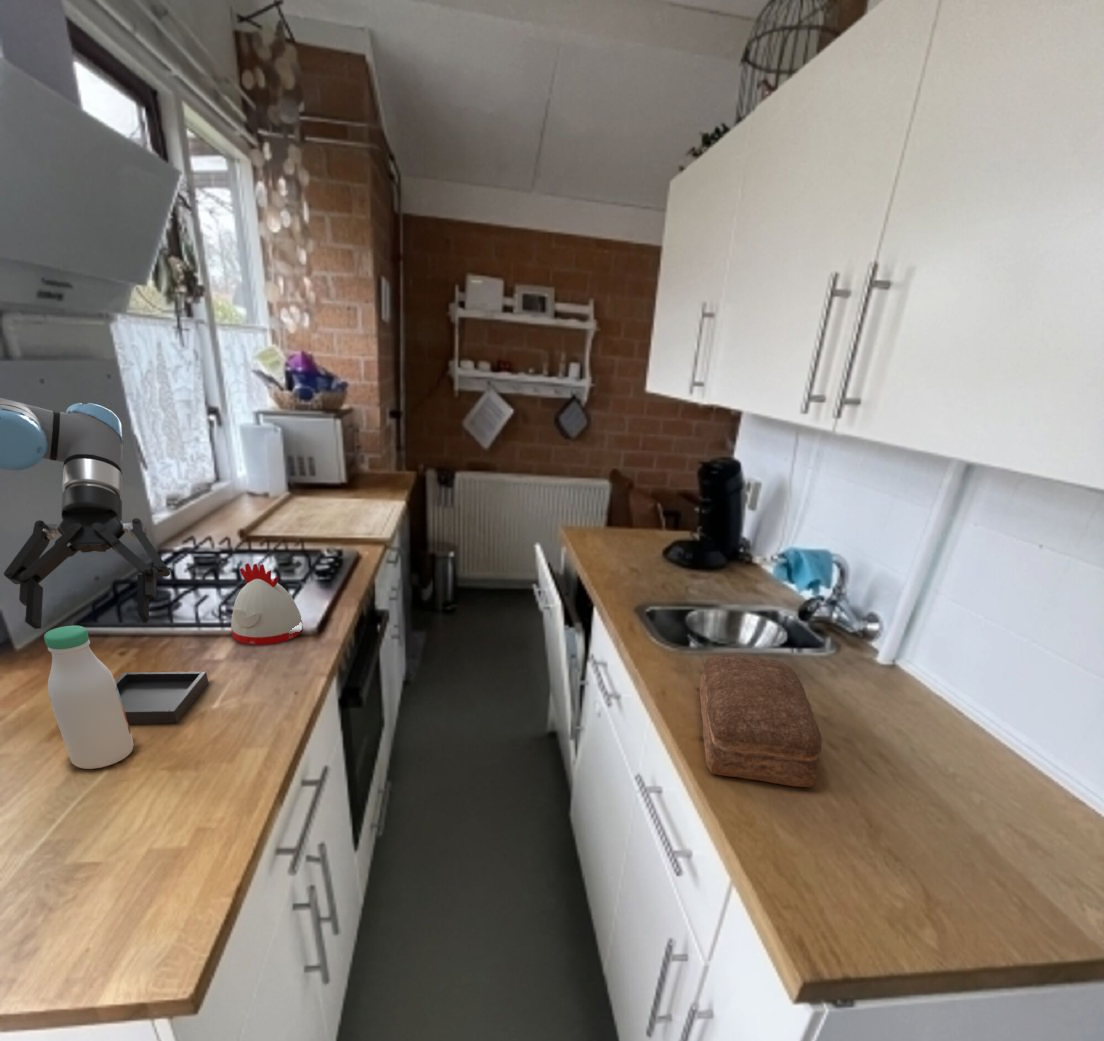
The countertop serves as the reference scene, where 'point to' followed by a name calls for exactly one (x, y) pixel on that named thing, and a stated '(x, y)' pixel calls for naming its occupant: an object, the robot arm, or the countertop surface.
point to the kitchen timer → (263, 610)
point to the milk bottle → (86, 701)
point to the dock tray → (159, 695)
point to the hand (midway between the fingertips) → (89, 621)
